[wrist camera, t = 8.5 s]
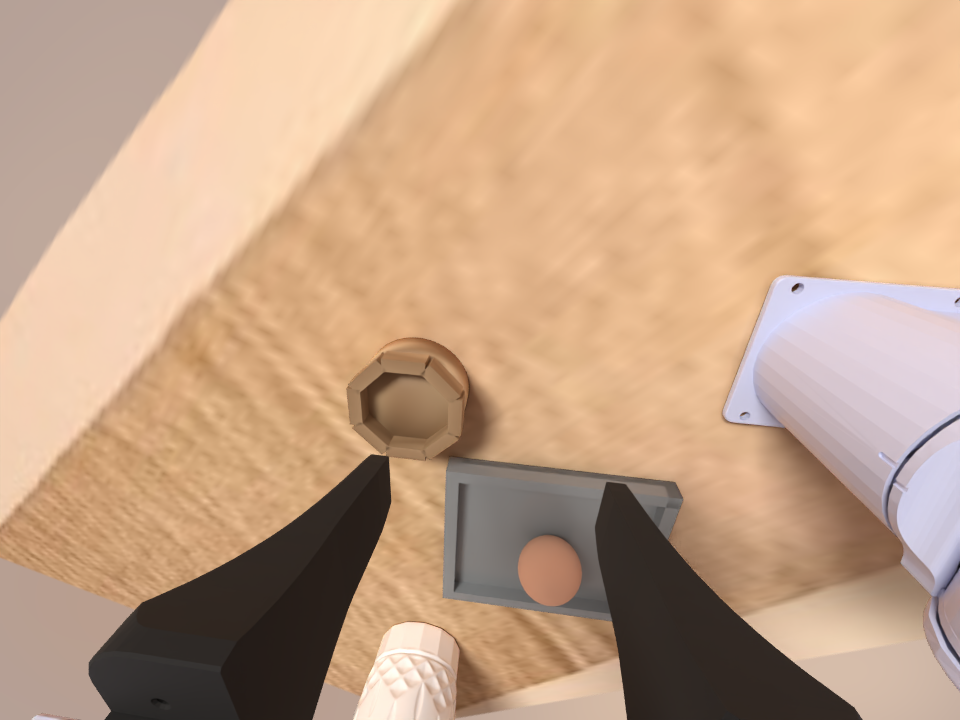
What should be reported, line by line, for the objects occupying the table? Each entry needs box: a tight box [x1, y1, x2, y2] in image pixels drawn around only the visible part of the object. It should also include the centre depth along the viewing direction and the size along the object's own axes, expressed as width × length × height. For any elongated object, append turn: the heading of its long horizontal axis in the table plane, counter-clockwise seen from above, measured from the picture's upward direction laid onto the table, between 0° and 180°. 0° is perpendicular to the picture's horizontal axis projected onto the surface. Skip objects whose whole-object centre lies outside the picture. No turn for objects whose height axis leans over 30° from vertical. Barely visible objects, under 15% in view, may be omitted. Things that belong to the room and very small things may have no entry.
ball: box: [518, 535, 582, 606], centre depth 25 cm, size 4×4×4 cm
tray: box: [443, 456, 683, 621], centre depth 27 cm, size 14×12×1 cm
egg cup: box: [347, 338, 469, 461], centre depth 22 cm, size 6×6×3 cm
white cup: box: [353, 622, 459, 720], centre depth 30 cm, size 8×8×10 cm
